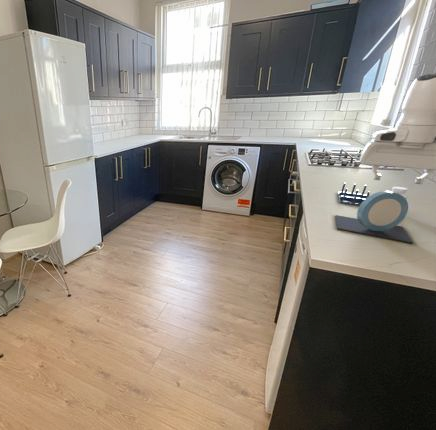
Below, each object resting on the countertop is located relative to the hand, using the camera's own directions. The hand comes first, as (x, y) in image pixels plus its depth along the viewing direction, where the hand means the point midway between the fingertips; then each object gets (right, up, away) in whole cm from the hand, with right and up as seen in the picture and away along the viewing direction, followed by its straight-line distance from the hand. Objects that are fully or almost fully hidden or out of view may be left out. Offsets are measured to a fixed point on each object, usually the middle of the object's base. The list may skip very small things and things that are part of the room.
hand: (396, 181), depth 86 cm
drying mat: (-1, -15, +8) cm, 17 cm away
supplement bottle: (+19, -9, +21) cm, 30 cm away
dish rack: (+16, -4, +34) cm, 38 cm away
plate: (-6, -13, +5) cm, 16 cm away
